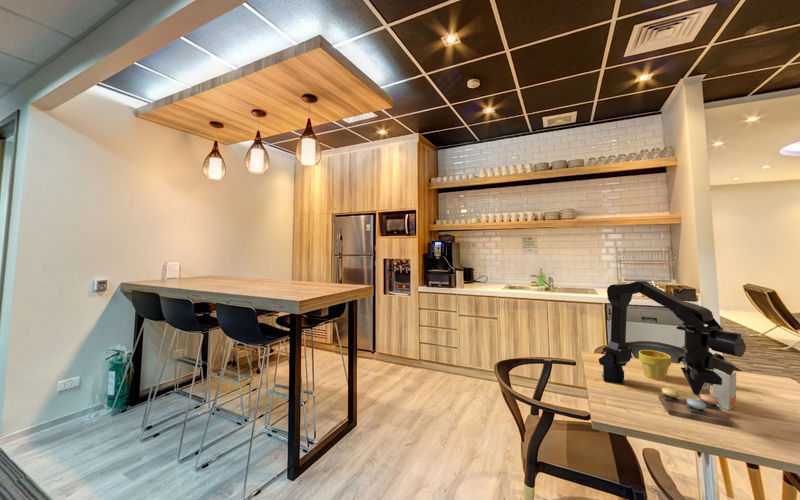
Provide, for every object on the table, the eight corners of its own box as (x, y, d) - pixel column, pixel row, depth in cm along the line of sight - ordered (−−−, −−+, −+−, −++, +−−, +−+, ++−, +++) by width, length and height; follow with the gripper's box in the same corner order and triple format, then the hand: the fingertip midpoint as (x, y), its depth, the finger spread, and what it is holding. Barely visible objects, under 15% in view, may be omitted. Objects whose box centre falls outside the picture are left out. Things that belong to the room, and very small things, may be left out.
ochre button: (663, 398, 105) (664, 391, 105) (660, 392, 108) (660, 386, 108) (680, 401, 102) (680, 394, 102) (676, 395, 106) (676, 389, 106)
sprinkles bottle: (711, 396, 111) (712, 359, 111) (708, 399, 108) (708, 362, 108) (694, 391, 114) (695, 355, 114) (691, 394, 112) (691, 358, 112)
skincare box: (729, 411, 101) (730, 375, 101) (712, 405, 105) (712, 370, 104) (736, 406, 104) (736, 371, 103) (719, 400, 107) (719, 367, 107)
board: (668, 414, 99) (668, 407, 99) (658, 398, 109) (658, 391, 109) (733, 427, 92) (733, 419, 92) (715, 408, 102) (715, 401, 102)
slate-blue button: (689, 410, 97) (689, 403, 97) (684, 403, 101) (684, 397, 101) (708, 413, 95) (708, 406, 95) (702, 407, 99) (702, 400, 99)
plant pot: (643, 380, 124) (643, 356, 124) (635, 370, 134) (635, 348, 134) (675, 384, 120) (675, 359, 120) (664, 374, 130) (664, 351, 130)
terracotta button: (703, 405, 100) (703, 398, 100) (697, 399, 104) (697, 392, 104) (721, 408, 98) (721, 401, 98) (715, 402, 102) (715, 395, 102)
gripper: (747, 360, 86) (746, 415, 86) (717, 341, 102) (717, 387, 102) (694, 353, 91) (694, 405, 91) (674, 337, 107) (674, 380, 108)
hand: (695, 394), depth 98 cm, fingers closed
